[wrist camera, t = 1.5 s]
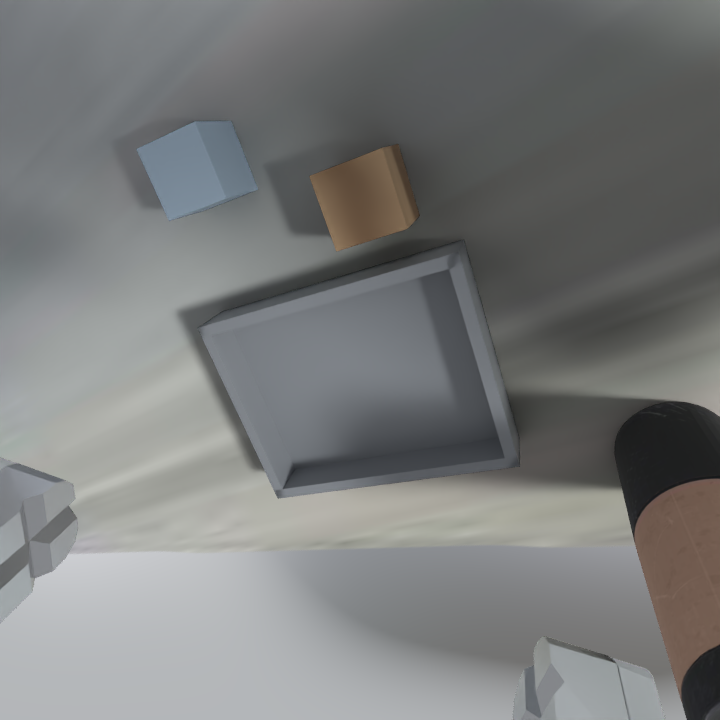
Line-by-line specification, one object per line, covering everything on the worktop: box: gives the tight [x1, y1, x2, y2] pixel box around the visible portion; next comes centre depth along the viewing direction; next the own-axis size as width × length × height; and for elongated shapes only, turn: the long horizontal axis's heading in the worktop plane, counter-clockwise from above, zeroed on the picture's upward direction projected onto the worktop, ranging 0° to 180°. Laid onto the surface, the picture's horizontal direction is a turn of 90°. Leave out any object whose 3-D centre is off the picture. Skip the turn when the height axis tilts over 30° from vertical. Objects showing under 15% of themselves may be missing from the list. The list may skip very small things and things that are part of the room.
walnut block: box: [309, 144, 420, 251], centre depth 32 cm, size 4×4×4 cm
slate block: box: [136, 121, 258, 221], centre depth 34 cm, size 4×4×4 cm
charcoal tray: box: [198, 240, 520, 498], centre depth 38 cm, size 19×15×4 cm
